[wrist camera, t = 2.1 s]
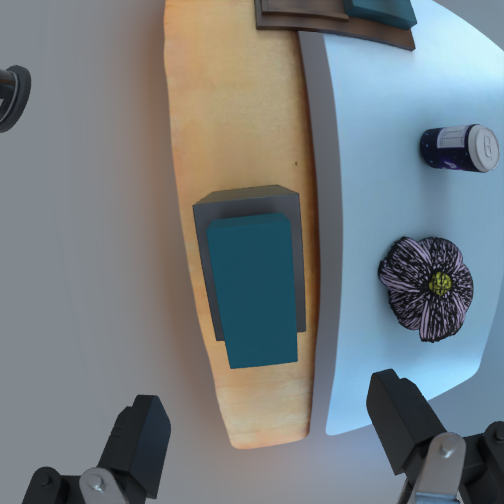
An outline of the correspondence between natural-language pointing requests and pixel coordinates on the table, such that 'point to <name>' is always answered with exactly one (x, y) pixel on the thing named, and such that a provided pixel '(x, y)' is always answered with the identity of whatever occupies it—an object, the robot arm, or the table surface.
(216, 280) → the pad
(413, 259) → the decorative flower
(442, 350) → the table surface
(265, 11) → the brown flat rectangular board
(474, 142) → the beverage can
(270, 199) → the pad stand
